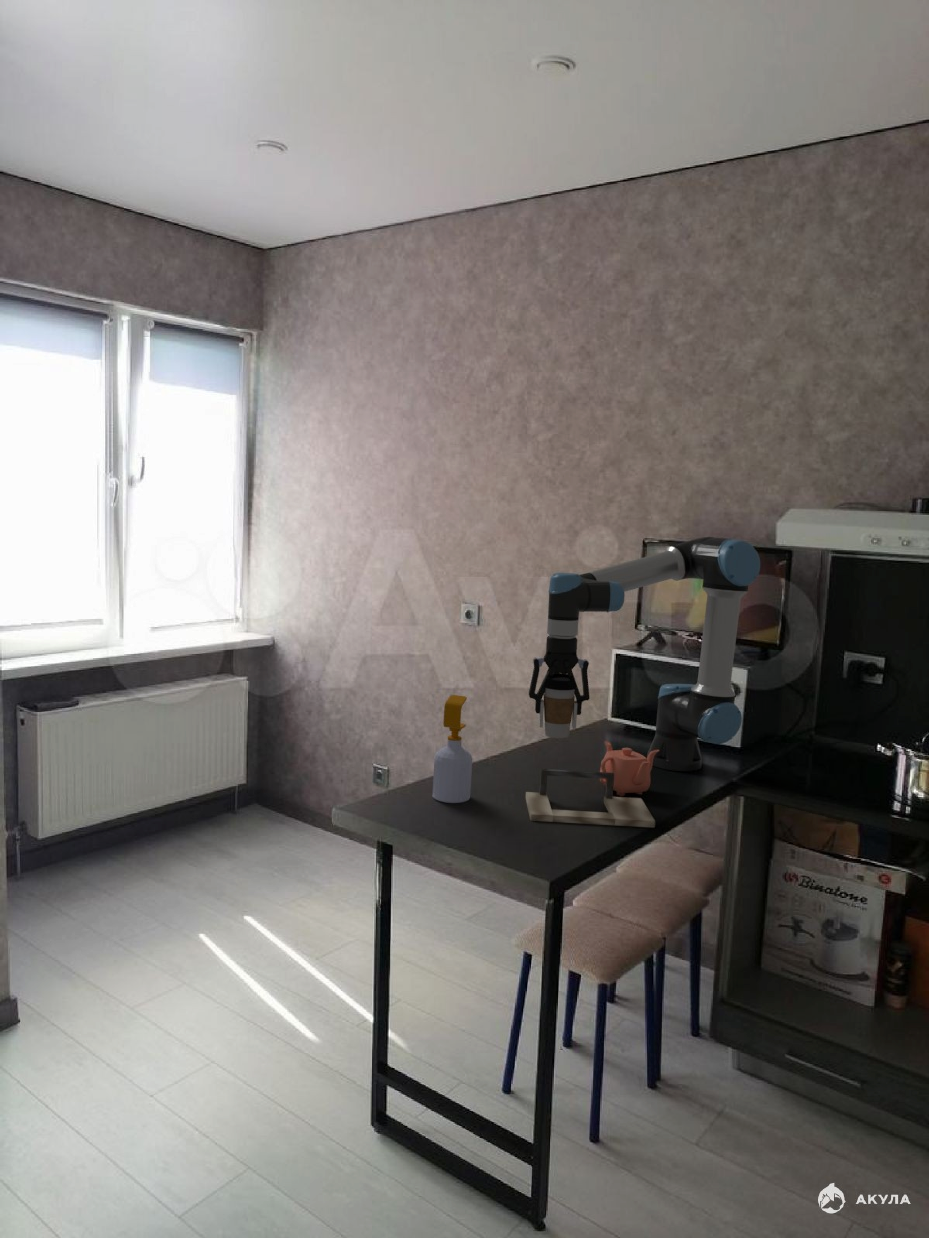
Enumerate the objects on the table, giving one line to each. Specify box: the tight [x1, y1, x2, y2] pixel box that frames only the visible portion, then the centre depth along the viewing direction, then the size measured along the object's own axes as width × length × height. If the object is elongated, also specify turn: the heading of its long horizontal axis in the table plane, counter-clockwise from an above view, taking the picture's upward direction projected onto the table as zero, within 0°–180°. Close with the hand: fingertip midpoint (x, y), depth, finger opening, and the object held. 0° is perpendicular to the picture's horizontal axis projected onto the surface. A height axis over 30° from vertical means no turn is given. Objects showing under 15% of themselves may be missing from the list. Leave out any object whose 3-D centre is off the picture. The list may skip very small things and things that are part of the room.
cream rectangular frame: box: [525, 768, 656, 828], centre depth 212 cm, size 28×16×8 cm, turn 90°
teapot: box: [599, 740, 659, 797], centre depth 230 cm, size 14×14×11 cm
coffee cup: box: [543, 673, 576, 739], centre depth 226 cm, size 8×8×15 cm
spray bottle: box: [431, 694, 473, 804], centre depth 216 cm, size 9×9×25 cm
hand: (557, 726), depth 227 cm, fingers closed on coffee cup, 8 cm apart
